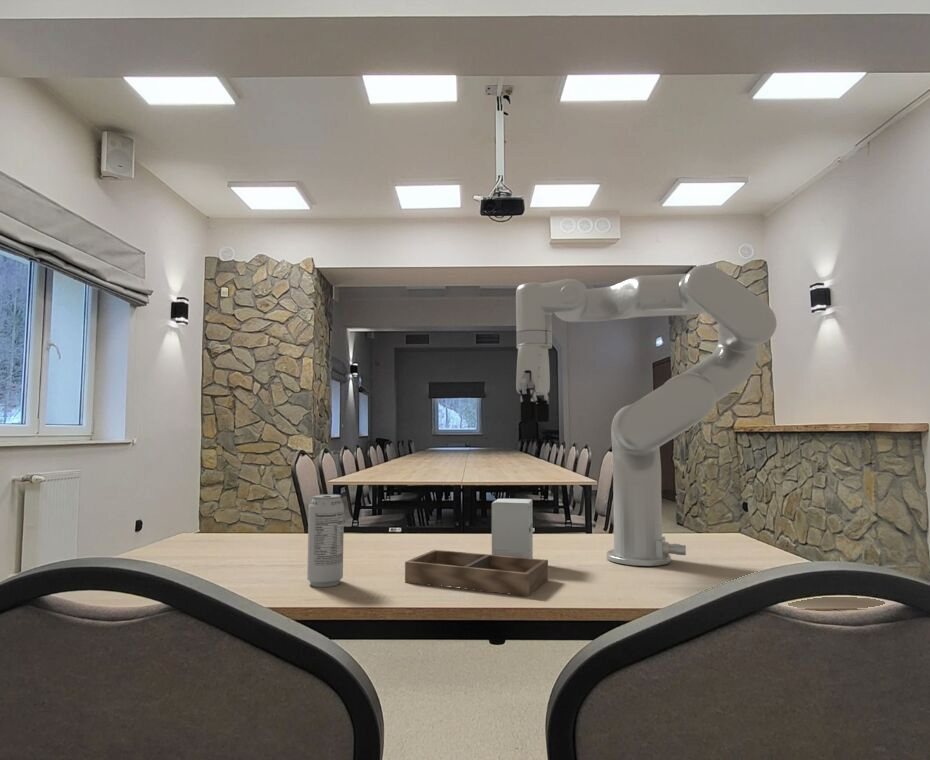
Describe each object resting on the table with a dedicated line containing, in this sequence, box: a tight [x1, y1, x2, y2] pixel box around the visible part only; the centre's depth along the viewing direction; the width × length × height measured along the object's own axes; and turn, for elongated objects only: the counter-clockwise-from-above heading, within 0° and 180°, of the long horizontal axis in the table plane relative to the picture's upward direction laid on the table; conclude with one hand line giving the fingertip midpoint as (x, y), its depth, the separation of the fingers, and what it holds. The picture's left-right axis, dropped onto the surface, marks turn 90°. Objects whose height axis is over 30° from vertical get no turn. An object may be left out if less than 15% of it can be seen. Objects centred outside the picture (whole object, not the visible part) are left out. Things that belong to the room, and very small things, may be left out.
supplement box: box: [491, 498, 534, 559], centre depth 122 cm, size 7×7×13 cm
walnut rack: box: [404, 549, 549, 597], centre depth 109 cm, size 22×12×4 cm, turn 66°
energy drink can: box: [306, 493, 345, 588], centre depth 108 cm, size 6×6×15 cm
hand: (535, 421), depth 131 cm, fingers open, 9 cm apart
